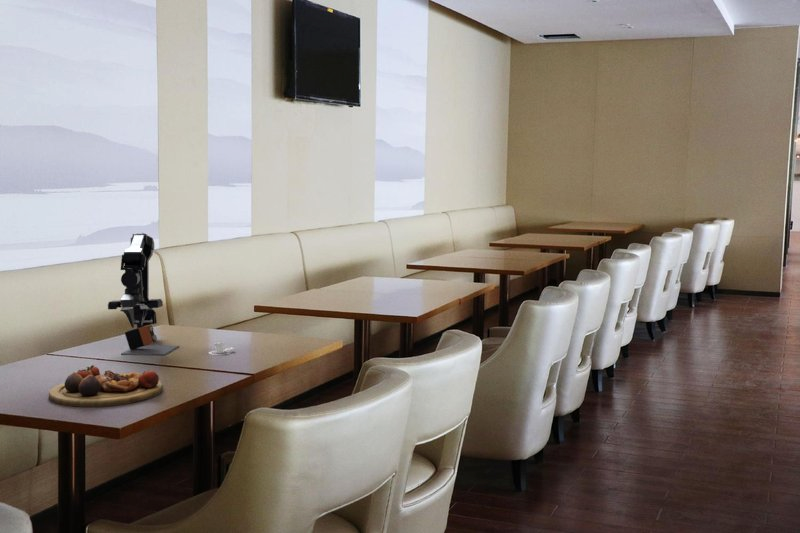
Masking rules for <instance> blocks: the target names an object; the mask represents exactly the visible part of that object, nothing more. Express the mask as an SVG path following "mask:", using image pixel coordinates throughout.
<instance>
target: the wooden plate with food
mask: <svg viewBox="0 0 800 533" xmlns="http://www.w3.org/2000/svg"><path fill="white" fill-rule="evenodd" d="M163 388H164V387H163V383H162V382H161V381H160V378H159V375H158V374H157V372H156V371H155V370H147V371H143V372H142V373H139V372H136V371H133V372H127V373H118V372H113V371H112V370H110V369H109V370H105V371H104V373H101V372H100V369H99V368H98V367H97V366H95V365H94V364H92V365H91V366H86V369H78V371H77V372H73V373H71V374H69V375H68V376H67V377H66V379H65V381H64V382H62V383H60V384H57V385H56V386H53V388H51V389H50V390H49V393H48V398H49V399H50V401H51V402H53V403H56V404H58V405H63V406H67V407H68V406H69V407H80V408H82V407H83V408H99V407H101V408H102V407H103V408H104V407H112V406H113V407H114V406H121V405H127V404H133V403H138V402H142V401H146V400H148V399H152V398H154V397H156V396H157V395H159V394H161V392H162V391H163Z"/></svg>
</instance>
